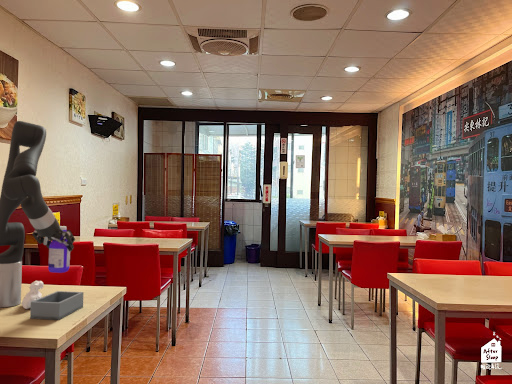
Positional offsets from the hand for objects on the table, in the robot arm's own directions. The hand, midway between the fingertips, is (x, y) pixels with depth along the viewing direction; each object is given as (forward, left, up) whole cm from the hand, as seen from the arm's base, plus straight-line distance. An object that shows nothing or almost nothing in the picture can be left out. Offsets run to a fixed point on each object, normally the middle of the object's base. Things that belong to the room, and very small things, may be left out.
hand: (61, 249), depth 145 cm
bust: (-15, +5, -24) cm, 29 cm away
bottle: (0, -2, -9) cm, 9 cm away
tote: (0, -1, -24) cm, 24 cm away
